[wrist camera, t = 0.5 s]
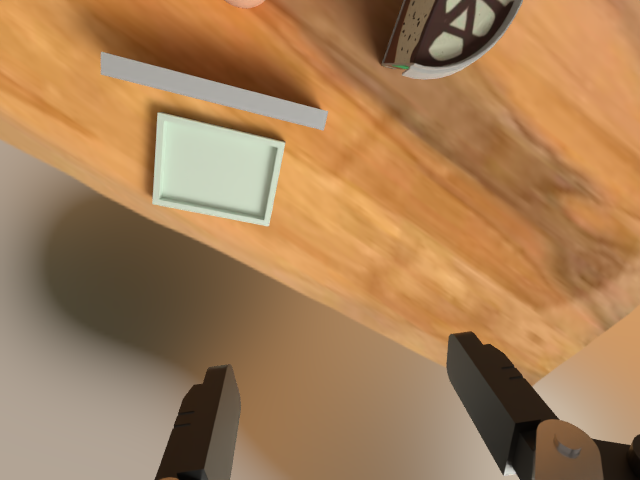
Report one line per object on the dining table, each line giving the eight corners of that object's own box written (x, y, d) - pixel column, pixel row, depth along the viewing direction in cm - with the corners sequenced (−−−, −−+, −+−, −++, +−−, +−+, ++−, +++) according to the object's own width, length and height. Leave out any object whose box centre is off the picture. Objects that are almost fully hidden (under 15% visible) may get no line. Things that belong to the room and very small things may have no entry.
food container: (430, 102, 33) (485, 102, 24) (375, 81, 32) (410, 72, 23) (488, -40, 29) (581, -107, 20) (427, -70, 28) (497, -156, 19)
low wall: (130, 59, 29) (100, 51, 25) (322, 110, 33) (328, 111, 28) (129, 78, 30) (100, 74, 25) (318, 126, 33) (323, 130, 28)
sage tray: (162, 112, 31) (157, 112, 30) (285, 141, 33) (285, 142, 32) (156, 200, 34) (152, 204, 33) (269, 222, 37) (268, 226, 35)
